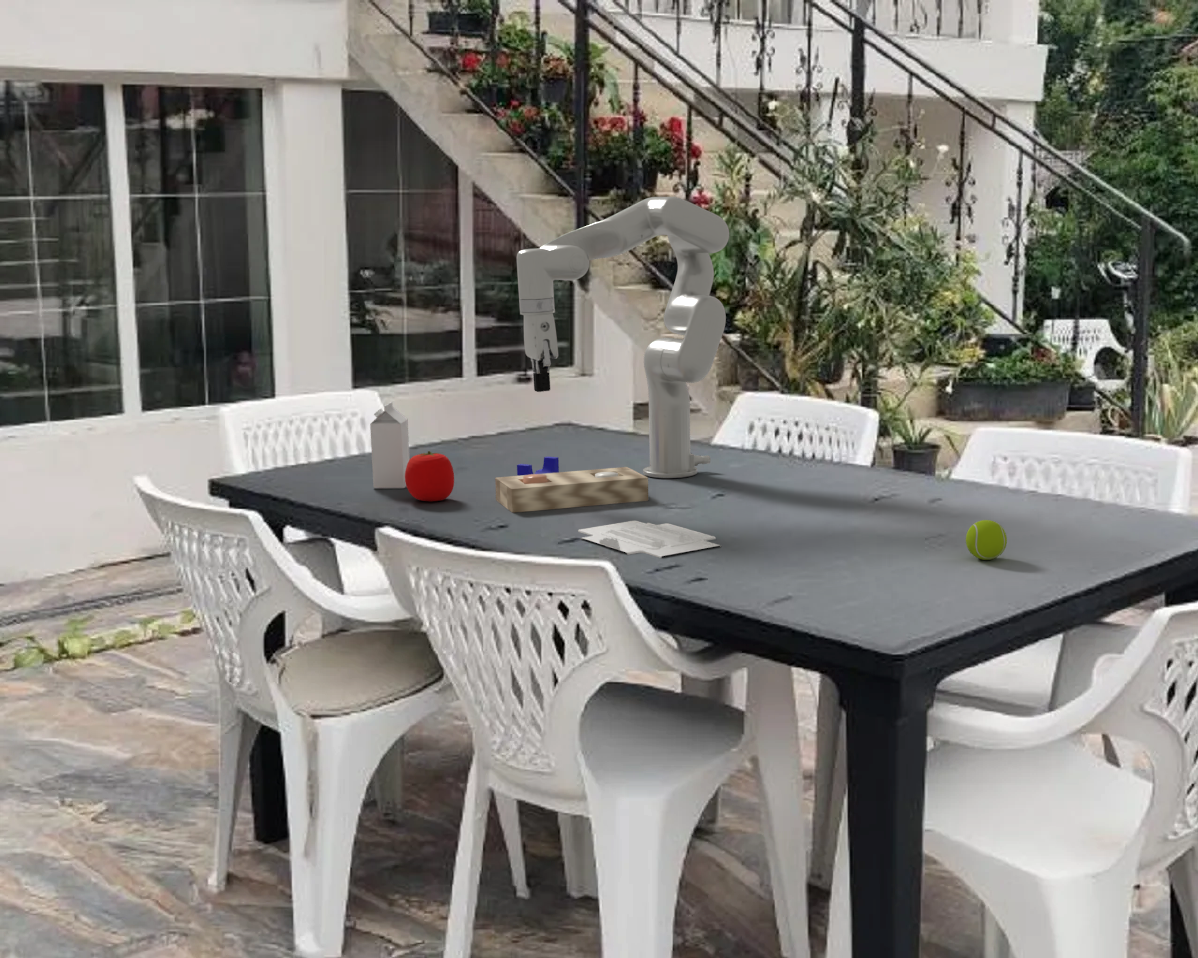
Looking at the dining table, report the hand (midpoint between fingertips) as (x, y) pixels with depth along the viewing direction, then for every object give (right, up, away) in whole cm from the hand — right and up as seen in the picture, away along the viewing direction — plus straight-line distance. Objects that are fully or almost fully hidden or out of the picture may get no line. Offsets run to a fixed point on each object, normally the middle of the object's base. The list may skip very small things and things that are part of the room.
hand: (542, 390), depth 331 cm
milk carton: (-35, -21, +17) cm, 44 cm away
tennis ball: (+80, -34, -64) cm, 108 cm away
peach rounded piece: (-1, -23, -7) cm, 24 cm away
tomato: (-24, -24, 0) cm, 34 cm away
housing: (+6, -24, -4) cm, 25 cm away
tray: (+22, -31, -42) cm, 57 cm away
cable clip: (-2, -21, +13) cm, 25 cm away
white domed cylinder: (+14, -23, -2) cm, 27 cm away
